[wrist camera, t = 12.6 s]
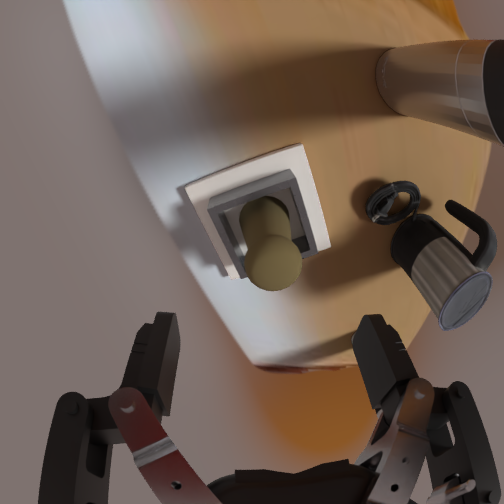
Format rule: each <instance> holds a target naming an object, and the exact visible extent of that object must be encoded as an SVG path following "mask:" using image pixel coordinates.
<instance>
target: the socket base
mask: <svg viewBox="0 0 504 504" xmlns="http://www.w3.org/2000/svg"><path fill="white" fill-rule="evenodd" d="M287 169H290V170H291V171H292V172H293V174H294V175H295V177H296V179H297V182H298V185H299V189H300V192H301V195H302V198H303V201H304V205H305V208H306V211H307V215H308V218H309V221H310V225H311V228H312V232H313V235H314V239H315V242H316V246H317V250H318V251H321V250H324V249H327V248H330V247H331V244H330V240H329V236H328V232H327V228H326V224H325V220H324V216H323V212H322V209H321V205H320V201H319V198H318V194H317V191H316V187H315V184H314V180H313V177H312V173H311V170H310V167H309V163H308V160H307V157H306V154H305V151H304V148H303V144H301V143H298V144H295V145H292V146H288V147H285V148H282V149H279V150H276V151H273V152H270V153H268V154H265V155H262V156H259V157H256V158H253V159H251V160H248V161H245V162H243V163H240V164H237V165H235V166H232V167H229V168H227V169H224V170H222V171H219V172H217V173H214V174H212V175H209V176H207V177H204V178H202V179H199V180H197V181H195V182H192V183H190V184H188V185H186V187H185V190H186V192H187V194H188V196H189V198H190V200H191V202H192V204H193V206H194V208H195V210H196V212H197V214H198V216H199V218H200V220H201V222H202V224H203V226H204V228H205V230H206V232H207V234H208V236H209V238H210V240H211V242H212V244H213V246H214V248H215V250H216V252H217V253H218V255H219V257H220V259H221V261H222V263H223V265H224V267H225V269H226V271H227V273H228V274H229V276H230V278H231V280H234V279H237V278H240V276H239V274H238V272H237V270H236V268H235V266H234V264H233V262H232V260H231V258H230V256H229V254H228V252H227V250H226V248H225V246H224V244H223V242H222V240H221V238H220V236H219V234H218V232H217V230H216V228H215V226H214V224H213V221H212V219H211V217H210V215H209V213H208V211H207V207H208V203H209V199H210V197H213V196H215V195H218V194H221V193H223V192H226V191H228V190H231V189H234V188H236V187H239V186H242V185H244V184H247V183H250V182H253V181H255V180H258V179H261V178H264V177H267V176H270V175H272V174H275V173H278V172H281V171H284V170H287ZM266 196H272V197H275V198H277V199H279V200H281V201H282V202H283V203H284V204H285V205H286V207H287V209H288V211H289V218H290V229H291V240H292V239H295V238H298V237H301V236H304V233H303V230H302V227H301V224H300V221H299V217H298V214H297V211H296V208H295V205H294V202H293V199H292V196H291V193H290V190H289V188H286V189H283V190H281V191H278V192H275V193H272V194H269V195H266ZM245 204H246V203H244V204H241V205H238V206H236V207H233V208H230V209H228V210H225V211H224V213H225V215H226V218H227V220H228V222H229V224H230V226H231V228H232V231H233V233H234V235H235V237H236V239H237V241H238V244H239V246H240V248H241V250H242V252H243V254H244V256H245V255H246V252H247V250H248V249H247V246H246V243H245V240H244V237H243V234H242V230H241V227H240V223H239V216H240V212H241V210H242V208H243V206H244V205H245Z"/></svg>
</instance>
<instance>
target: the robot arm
mask: <svg viewBox="0 0 504 504" xmlns="http://www.w3.org/2000/svg"><path fill="white" fill-rule="evenodd" d="M376 82H377V86H378V89H379V92H380V94H381V96H382V98H383V99H384V101H385V102H386V103H387V104H388V106H389V107H391V108H392V109H393V110H394V111H396V112H398V113H399V114H402V115H405V116H409V117H413V118H417V119H421V120H425V121H429V122H432V123H436V124H440V125H443V126H446V127H450V128H453V129H456V130H459V131H462V132H465V133H468V134H471V135H474V136H477V137H479V138H482V139H485V140H488V141H490V142H493V143H496V144H498V145H500V146H503V147H504V40H486V39H485V40H484V39H481V40H456V41H443V42H433V43H424V44H417V45H410V46H404V47H398V48H393V49H390V50H388V51H387V52H385V53H384V54H383V55H382V56H381V57H380V59H379V61H378V63H377V67H376ZM405 349H406V348H405V346H404V344H403V343H402V340H401V338H400V336H399V334H398V332H397V331H396V330H395V329H394V328H393V327H392V326H391V325H387V324H386V322H385V320H384V318H383V316H382V315H381V314H373V315H364V316H363V318H362V320H361V322H360V324H359V327H358V329H357V331H356V333H355V335H354V338H353V351H354V354H355V357H356V360H357V362H358V365H359V368H360V371H361V374H362V377H363V380H364V384H365V387H366V390H367V393H368V396H369V399H370V402H371V405H372V409H376V408H382V411H383V412H382V413H381V414H380V417H379V419H378V422H377V424H376V426H375V429H374V431H373V433H372V435H371V438H370V440H369V442H368V444H367V446H366V448H365V449H364V451H363V452H362V453H361V454H360V456H359V457H358V459H357V460H356V462H355V464H349V460H348V459H345V460H341V461H335V462H329V463H324V464H320V465H318V466H315V467H313V468H310V469H307V470H305V471H302V472H299V473H295V474H291V473H284V472H277V471H270V470H264V469H262V470H235V474H232V475H228V476H225V477H221V478H219V479H217V480H215V481H213V482H211V483H210V484H208V485H207V486H206V485H205V483H204V482H203V481H202V480H201V479H200V477H199V476H198V475H197V474H196V473H195V471H194V470H193V469H192V467H191V466H190V465H189V464H188V462H187V461H186V460H185V458H184V457H183V455H182V454H181V453H180V452H179V450H178V449H177V447H176V446H175V444H174V443H173V442H172V441H171V439H170V438H169V436H168V435H167V433H166V432H165V430H164V429H163V427H162V426H161V420H162V416H170V409H171V403H172V396H173V389H174V382H175V376H176V370H177V364H178V358H179V352H180V334H179V328H178V323H177V317H176V314H175V313H169V312H157V314H156V316H155V320H154V323H153V324H149V323H145V324H144V325H143V326H142V327H141V328H140V330H139V331H138V332H137V335H136V338H135V341H134V344H133V347H132V350H131V353H130V357H129V360H128V363H127V367H126V370H125V374H124V377H123V381H122V384H121V386H120V388H119V389H117V390H116V391H114V392H113V393H112V395H110V396H107V397H102V398H92V399H85V398H84V396H82V395H81V394H79V393H77V392H68V393H66V394H64V395H62V396H61V397H60V399H59V400H58V402H57V405H56V409H55V412H54V416H53V420H52V424H51V428H50V432H49V437H48V441H47V446H46V451H45V456H44V461H43V467H42V474H41V481H40V489H39V499H38V504H108V490H109V477H110V466H111V457H112V448H113V444H120V443H126V444H127V446H128V447H129V449H130V451H131V453H132V455H133V457H134V462H135V464H136V466H137V468H138V469H139V471H140V472H141V474H142V476H143V477H144V479H145V480H146V482H147V483H148V485H149V486H150V488H151V489H152V491H153V492H154V494H155V495H156V496H157V498H158V499H159V500H160V502H161V503H162V504H417V503H416V502H414V501H413V500H411V499H410V496H411V494H412V491H413V489H414V486H415V484H416V482H417V479H418V476H419V474H420V471H421V468H422V465H423V462H424V459H425V456H426V459H427V463H428V468H429V472H430V477H431V482H432V488H433V491H432V493H431V496H430V497H428V499H427V501H426V503H427V504H498V503H499V500H500V497H501V489H500V483H499V479H498V474H497V470H496V466H495V462H494V458H493V455H492V451H491V448H490V444H489V442H488V438H487V435H486V432H485V429H484V426H483V423H482V420H481V417H480V415H479V412H478V410H477V407H476V404H475V402H474V399H473V397H472V394H471V392H470V390H469V388H468V387H467V385H466V384H464V383H463V382H460V381H456V382H453V383H452V384H451V385H450V386H449V387H448V388H438V387H433V386H432V385H431V383H430V382H429V381H427V380H426V379H423V378H419V376H418V374H417V372H416V370H415V368H414V366H413V363H412V361H411V359H410V357H409V355H408V353H407V350H405ZM448 421H450V424H451V427H452V430H453V434H454V437H455V444H454V446H453V443H452V440H451V437H450V433H449V430H448V427H447V424H446V423H447V422H448Z"/></svg>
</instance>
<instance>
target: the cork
mask: <svg viewBox="0 0 504 504" xmlns="http://www.w3.org/2000/svg"><path fill="white" fill-rule="evenodd" d="M239 223H240V227H241V230H242V234H243V237H244V240H245V243H246V246H247V249H248V250H247V252H246V255H245V261H244V266H245V271H246V274H247V276H248V278H249V279H250V281H251V282H252V283H253V284H254V285H256V286H257V287H259V288H261V289H264V290H266V291H278V290H282V289H285V288H287V287H289V286H290V285H291V284H293V283H294V282H295V280H296V279H297V278H298V276H299V275H300V272H301V269H302V256H301V254H300V251H299V249H298V247H297V246H296V245H295V244H294V243H293V242H292V240H291V229H290V218H289V211H288V209H287V207H286V205H285V204H284V203H283V202H282V201H281V200H279V199H277V198H275V197H272V196H263V197H261V198H258V199H255V200H252V201H249V202H247V203H246V204H245V205H244V206H243V208H242V210H241V212H240V216H239Z"/></svg>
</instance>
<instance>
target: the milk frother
mask: <svg viewBox="0 0 504 504" xmlns="http://www.w3.org/2000/svg"><path fill="white" fill-rule="evenodd" d="M399 192H407V193H409V194H410V202H409V204H408V205H407V206H406V207H405V208H404V209H403V210H402V211H400V212H399V213H397V214H394V215H391V216H388V215H387V212H388V211H389V210H390V208H391V206H392V204H393V203H394V199H395V198H396V197H397V196H398V193H399ZM420 198H421V195H420V192H419V189H418V187H417V186H416V185H415V184H414V183H412V182H409V181H397V182H393V183H389V184H387V185H385V186H382V187H380V188H379V189H377V190H376V191H375V192H374V193H372V195H371V196H370V197H369V199H368V201H367V203H366V213H367V215H368V217H369V218H370V219H371V221H373V222H375V223H377V224H381V225H389V224H392V223H396V222H398V221H400V220H402V219H404V218H405V217H407V216H408V215H409V214H410V213H411V212H412V211H413V210H414V209H415V210H414V213H413V216H412V217H410V218H409V219H407V220H406V221H404V222H403V223H402V224H401V226H400V227H399V228H398V229H397V231H396V233H395V235H394V237H393V239H392V243H391V255H392V258H393V259H394V261H395V262H396V263H397V264H399V265H400V266H401V267H402V268H403V269H404V271H405V272H406V273H407V275H408V276H409V277H410V278H411V280H412V281H413V283H414V284H415V285H416V287H417V288H418V290H419V291H420V293H421V294H422V296H423V297H424V299H425V300H426V302H427V303H428V305H429V306H430V308H431V309H432V311H433V312H434V314H435V315H436V317H437V318H438V320H439V321H438V322H439V326H440V327H441V329H442V330H444V331H448V330H453V329H456V328H458V327H460V326H461V325H463V324H465V323H466V322H468V321H469V320H470V319H471V318H472V317H473V316H474V315H475V314H476V313H477V312H478V311H479V310H480V308H482V306H483V305H484V303H485V302H486V300H487V298H488V296H489V294H490V291H491V289H492V281H493V280H492V277H491V275H490V274H489V273H488V272H486V270H487V269H488V267H489V266H490V264H491V262H492V261H493V259H494V257H495V254H496V250H497V239H496V234H495V232H494V230H493V229H492V227H491V226H490V225H489V223H488V222H487V221H485V220H484V219H483V218H481V217H480V216H478V215H477V214H475V213H474V212H472V211H471V210H469V209H467V208H466V207H464V206H462V205H461V204H459V203H457V202H455V201H453V200H448V201H447V203H446V204H445V208H446V210H447V211H448V213H449V214H451V215H452V216H453V217H455V218H456V219H458V220H459V221H460V222H462V223H463V224H465V225H466V226H468V227H469V228H470V229H472V230H473V231H475V232H476V233H477V234H478V235H479V238H480V240H479V245H478V247H477V249H476V250H475V252H474V253H473V255H472V254H471V253H470V252H469V251H468V250H467V249H466V248H465V247H464V246H463V245H462V244H461V243H460V242H459V241H458V240H457V239H456V238H455V237H454V236H453V235H452V234H450V233H449V232H448V231H447V230H446V229H445V228H444V227H442V226H441V225H440V224H439V223H438V222H437V221H435V220H434V219H433V218H432V217H430V216H429V215H426V214H418V215H416V213H417V209H418V207H419V203H420Z"/></svg>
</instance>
